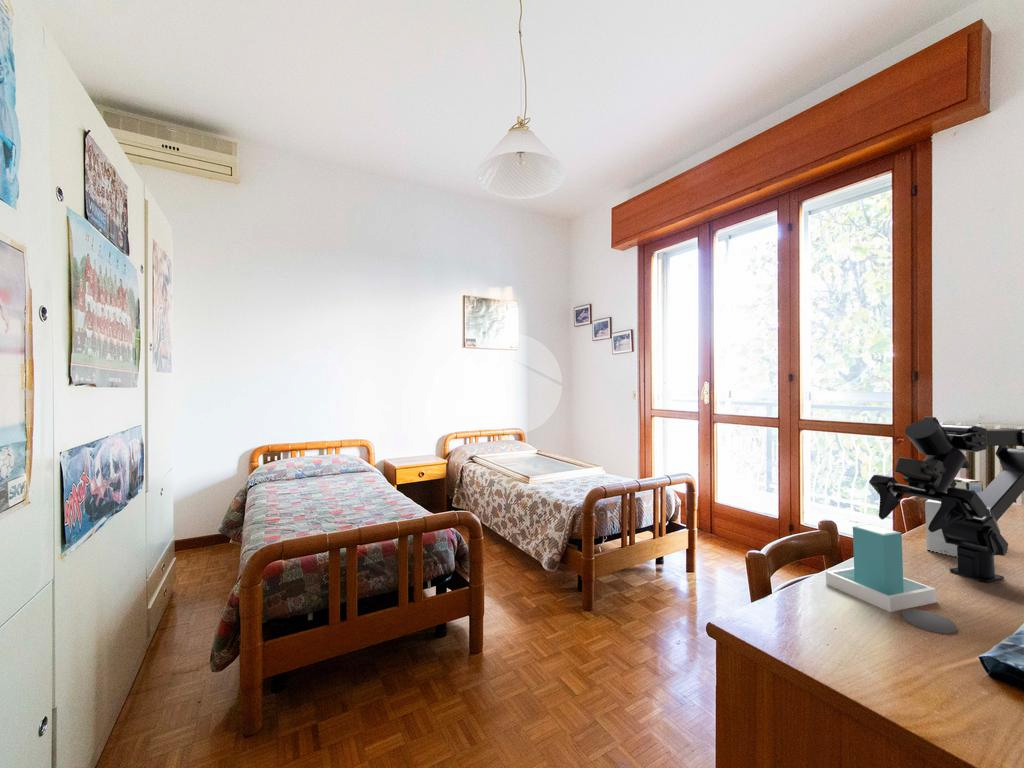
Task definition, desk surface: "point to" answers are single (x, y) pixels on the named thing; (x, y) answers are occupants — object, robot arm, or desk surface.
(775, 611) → the desk surface
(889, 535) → the teal carton
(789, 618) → the desk surface
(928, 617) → the charcoal coaster
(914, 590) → the white tray
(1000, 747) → the desk surface
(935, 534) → the small box
